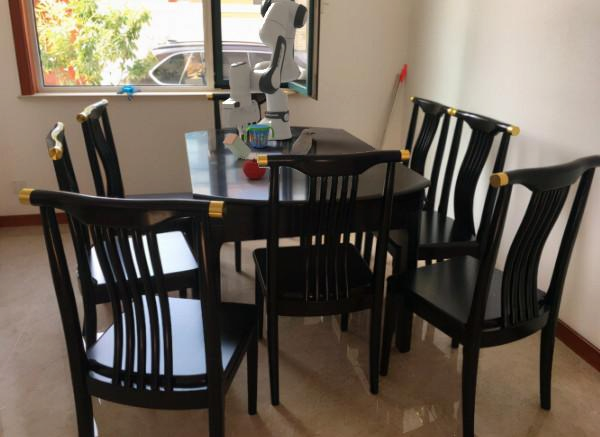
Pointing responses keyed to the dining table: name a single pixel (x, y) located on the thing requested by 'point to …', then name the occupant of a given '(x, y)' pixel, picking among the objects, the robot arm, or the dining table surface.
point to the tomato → (253, 169)
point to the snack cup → (259, 135)
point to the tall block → (237, 146)
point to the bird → (303, 142)
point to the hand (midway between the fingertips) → (242, 134)
